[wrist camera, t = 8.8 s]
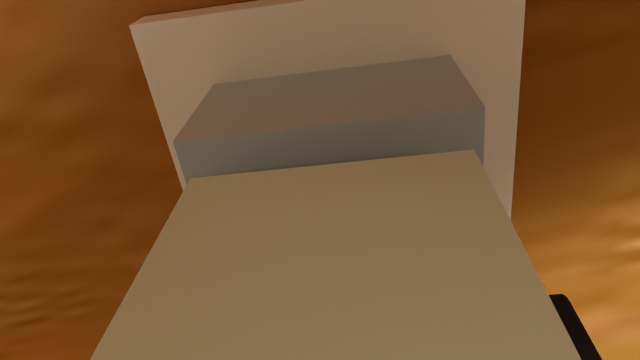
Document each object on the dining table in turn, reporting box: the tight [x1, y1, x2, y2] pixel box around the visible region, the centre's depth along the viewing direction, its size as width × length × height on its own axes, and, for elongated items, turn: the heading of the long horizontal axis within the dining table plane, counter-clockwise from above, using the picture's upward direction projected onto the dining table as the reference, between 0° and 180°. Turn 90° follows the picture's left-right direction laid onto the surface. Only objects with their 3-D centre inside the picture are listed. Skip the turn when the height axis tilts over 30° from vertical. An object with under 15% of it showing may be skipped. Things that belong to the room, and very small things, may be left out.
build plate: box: [129, 0, 526, 220], centre depth 15 cm, size 11×11×5 cm
